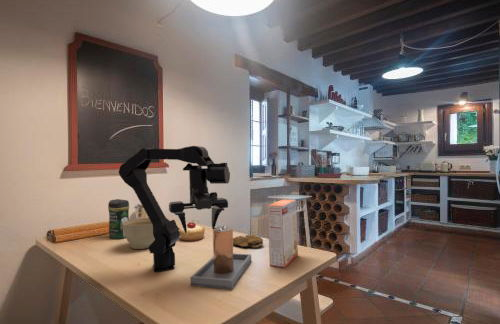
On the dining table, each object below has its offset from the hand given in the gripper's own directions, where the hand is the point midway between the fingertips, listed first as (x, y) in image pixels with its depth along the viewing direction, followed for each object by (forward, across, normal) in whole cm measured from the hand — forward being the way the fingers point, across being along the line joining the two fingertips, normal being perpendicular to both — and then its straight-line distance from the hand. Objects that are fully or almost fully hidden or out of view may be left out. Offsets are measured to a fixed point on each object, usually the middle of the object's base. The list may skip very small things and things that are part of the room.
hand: (199, 230), depth 93 cm
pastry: (+13, +6, +40) cm, 42 cm away
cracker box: (+13, +29, -5) cm, 32 cm away
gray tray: (+13, +6, -6) cm, 15 cm away
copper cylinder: (+12, +6, -5) cm, 15 cm away
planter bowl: (+13, -16, +38) cm, 43 cm away
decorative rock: (+14, +25, +18) cm, 34 cm away
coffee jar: (+13, -26, +60) cm, 67 cm away
